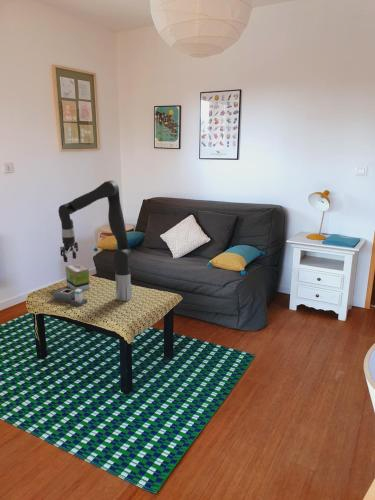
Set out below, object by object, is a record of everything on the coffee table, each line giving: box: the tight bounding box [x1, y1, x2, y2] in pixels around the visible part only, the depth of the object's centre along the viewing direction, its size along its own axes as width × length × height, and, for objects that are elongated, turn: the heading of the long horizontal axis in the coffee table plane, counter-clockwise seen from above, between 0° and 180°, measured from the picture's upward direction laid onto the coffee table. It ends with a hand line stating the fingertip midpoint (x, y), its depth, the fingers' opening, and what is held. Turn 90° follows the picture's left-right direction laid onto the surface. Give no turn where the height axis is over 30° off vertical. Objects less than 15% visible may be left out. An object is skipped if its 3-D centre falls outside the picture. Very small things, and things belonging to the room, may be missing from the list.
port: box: [52, 287, 75, 304], centre depth 246 cm, size 14×10×5 cm
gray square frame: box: [70, 298, 88, 307], centre depth 240 cm, size 7×7×2 cm
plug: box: [74, 289, 84, 302], centre depth 239 cm, size 3×3×9 cm
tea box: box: [65, 263, 90, 292], centre depth 264 cm, size 15×10×15 cm
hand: (70, 260), depth 248 cm, fingers open, 8 cm apart
